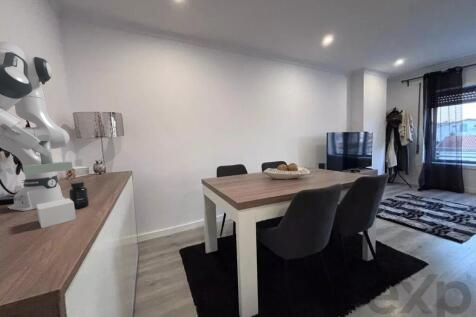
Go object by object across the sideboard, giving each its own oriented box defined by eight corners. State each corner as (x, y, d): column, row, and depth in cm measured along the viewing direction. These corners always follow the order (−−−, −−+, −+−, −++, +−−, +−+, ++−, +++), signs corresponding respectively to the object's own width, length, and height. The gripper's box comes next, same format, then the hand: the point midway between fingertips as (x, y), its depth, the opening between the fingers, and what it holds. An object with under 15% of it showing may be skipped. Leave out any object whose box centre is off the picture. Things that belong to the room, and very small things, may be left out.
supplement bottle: (79, 209, 93) (75, 184, 91) (67, 209, 94) (63, 184, 93) (92, 204, 99) (89, 180, 98) (81, 204, 101) (78, 180, 99)
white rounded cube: (38, 221, 80) (36, 204, 80) (70, 213, 88) (68, 198, 87) (41, 228, 74) (38, 209, 73) (76, 219, 81) (73, 202, 81)
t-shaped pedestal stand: (23, 172, 72) (18, 137, 71) (66, 168, 81) (62, 136, 80) (24, 174, 64) (18, 134, 63) (72, 169, 73) (68, 134, 72)
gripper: (12, 115, 59) (60, 147, 67) (11, 123, 73) (52, 148, 81) (-10, 131, 56) (43, 162, 65) (-6, 136, 70) (38, 161, 78)
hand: (48, 154), depth 73 cm, fingers closed on t-shaped pedestal stand, 3 cm apart
